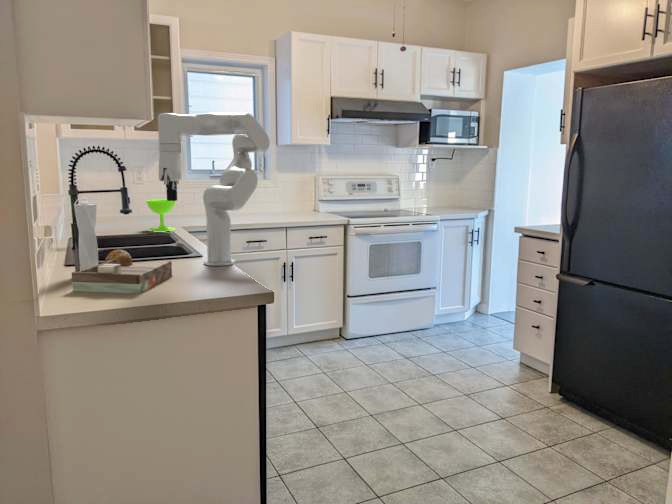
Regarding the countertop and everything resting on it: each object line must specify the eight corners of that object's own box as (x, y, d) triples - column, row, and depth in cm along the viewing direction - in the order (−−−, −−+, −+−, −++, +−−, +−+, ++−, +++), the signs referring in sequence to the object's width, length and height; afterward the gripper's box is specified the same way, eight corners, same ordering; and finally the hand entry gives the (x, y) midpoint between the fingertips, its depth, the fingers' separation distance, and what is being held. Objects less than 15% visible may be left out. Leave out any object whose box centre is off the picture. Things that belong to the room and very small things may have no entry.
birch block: (106, 278, 173) (105, 263, 172) (121, 279, 173) (120, 264, 172) (98, 282, 168) (97, 266, 168) (113, 282, 168) (112, 267, 167)
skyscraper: (77, 272, 195) (72, 196, 191) (101, 271, 198) (97, 196, 194) (75, 277, 188) (69, 198, 183) (100, 276, 190) (95, 198, 186)
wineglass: (179, 231, 311) (178, 200, 308) (151, 233, 303) (150, 201, 300) (172, 228, 325) (171, 199, 322) (145, 230, 316) (143, 199, 313)
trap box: (113, 274, 194) (112, 258, 193) (172, 276, 192) (171, 259, 191) (72, 291, 169) (71, 272, 168) (139, 293, 167) (138, 274, 166)
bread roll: (133, 274, 211) (140, 255, 213) (109, 266, 204) (117, 247, 205) (121, 270, 218) (128, 252, 219) (98, 263, 210) (105, 244, 211)
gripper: (168, 149, 196) (170, 199, 199) (150, 148, 182) (153, 202, 185) (188, 149, 196) (189, 199, 199) (172, 148, 181) (174, 202, 184)
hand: (172, 200), depth 192 cm, fingers closed
